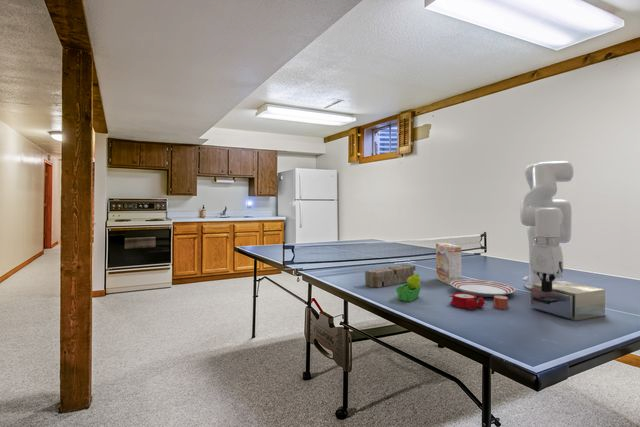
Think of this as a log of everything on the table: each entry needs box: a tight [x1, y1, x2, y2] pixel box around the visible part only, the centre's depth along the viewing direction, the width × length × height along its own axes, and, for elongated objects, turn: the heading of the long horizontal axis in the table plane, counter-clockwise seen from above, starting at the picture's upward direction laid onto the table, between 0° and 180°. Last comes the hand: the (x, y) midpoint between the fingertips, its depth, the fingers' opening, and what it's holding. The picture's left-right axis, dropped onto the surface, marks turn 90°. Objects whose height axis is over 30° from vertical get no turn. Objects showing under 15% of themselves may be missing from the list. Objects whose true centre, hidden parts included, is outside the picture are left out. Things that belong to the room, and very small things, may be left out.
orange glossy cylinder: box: [493, 295, 509, 310], centre depth 144 cm, size 5×5×4 cm
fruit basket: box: [395, 273, 422, 302], centre depth 157 cm, size 11×9×11 cm
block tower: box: [364, 263, 416, 289], centre depth 188 cm, size 8×8×29 cm
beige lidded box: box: [533, 280, 606, 322], centre depth 137 cm, size 16×17×10 cm
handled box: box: [530, 287, 573, 319], centre depth 135 cm, size 19×15×8 cm
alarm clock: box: [449, 291, 488, 311], centre depth 146 cm, size 10×6×15 cm
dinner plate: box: [450, 279, 517, 298], centre depth 167 cm, size 27×27×3 cm
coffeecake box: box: [435, 242, 462, 286], centre depth 190 cm, size 15×7×20 cm, turn 6°
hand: (546, 291), depth 133 cm, fingers closed
